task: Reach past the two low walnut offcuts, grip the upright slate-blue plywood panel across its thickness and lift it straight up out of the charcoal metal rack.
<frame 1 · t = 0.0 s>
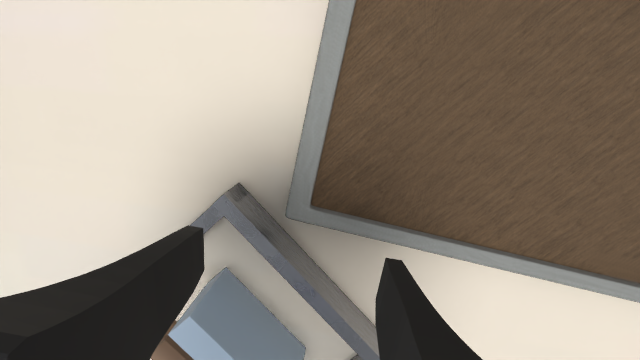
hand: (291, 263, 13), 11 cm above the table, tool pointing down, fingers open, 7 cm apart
picture frame: (538, 127, 22), on the table
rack: (257, 315, 26), on the table
panel: (246, 341, 23), in the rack
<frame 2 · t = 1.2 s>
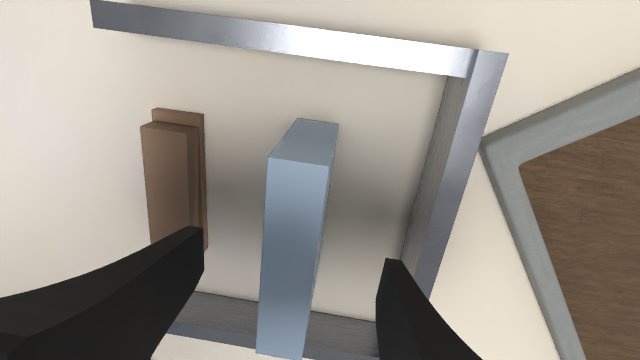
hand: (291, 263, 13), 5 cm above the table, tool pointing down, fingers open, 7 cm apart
offcut top: (179, 187, 18), resting on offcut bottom
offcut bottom: (190, 178, 19), on the table, touching offcut top
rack: (308, 203, 18), on the table
panel: (299, 231, 15), in the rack
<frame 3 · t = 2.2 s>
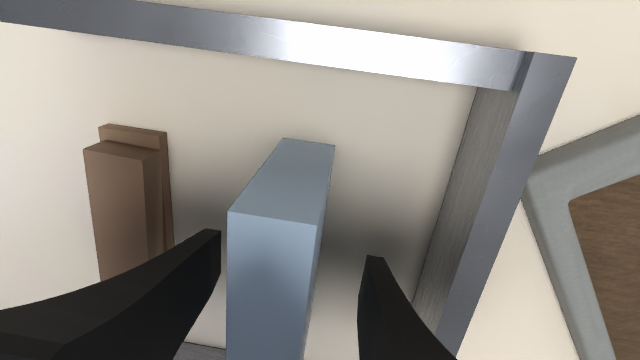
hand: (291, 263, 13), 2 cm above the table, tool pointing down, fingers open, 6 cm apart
offcut top: (138, 221, 14), point 1 cm above the table, touching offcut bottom
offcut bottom: (154, 208, 15), on the table, touching offcut top
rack: (297, 240, 14), on the table
panel: (284, 286, 12), in the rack
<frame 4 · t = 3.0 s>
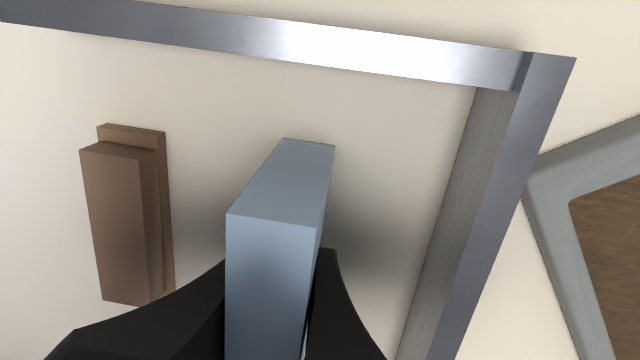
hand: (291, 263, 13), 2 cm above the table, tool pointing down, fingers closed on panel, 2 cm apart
offcut top: (136, 222, 14), point 1 cm above the table, touching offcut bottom
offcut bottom: (152, 208, 15), on the table, touching offcut top
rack: (297, 241, 14), on the table
panel: (283, 288, 12), in the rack, touching gripper
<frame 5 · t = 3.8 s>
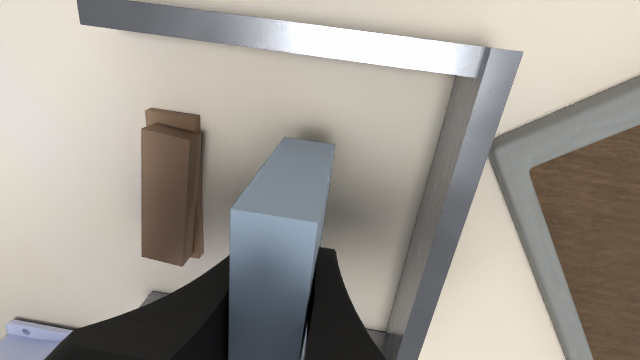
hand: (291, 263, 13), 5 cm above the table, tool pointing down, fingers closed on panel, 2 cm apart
offcut top: (176, 193, 17), resting on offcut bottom
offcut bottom: (185, 181, 18), on the table, touching offcut top
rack: (308, 208, 17), on the table
panel: (285, 283, 12), point 6 cm above the table, touching gripper
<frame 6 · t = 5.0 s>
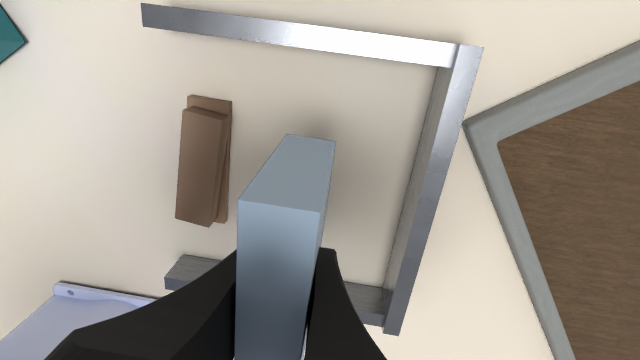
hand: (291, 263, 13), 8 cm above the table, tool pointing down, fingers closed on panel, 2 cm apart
offcut top: (205, 165, 20), point 1 cm above the table
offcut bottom: (215, 158, 22), on the table
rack: (317, 179, 21), on the table
panel: (288, 274, 12), point 9 cm above the table, touching gripper
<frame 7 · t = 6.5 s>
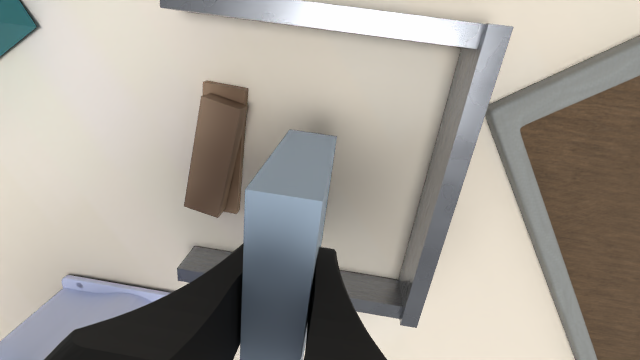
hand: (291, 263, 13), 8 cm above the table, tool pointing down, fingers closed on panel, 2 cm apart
offcut top: (218, 154, 20), point 1 cm above the table
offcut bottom: (228, 147, 21), on the table
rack: (334, 167, 20), on the table
panel: (290, 264, 13), point 8 cm above the table, touching gripper
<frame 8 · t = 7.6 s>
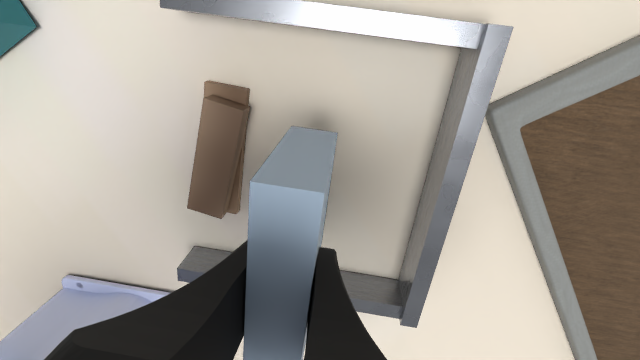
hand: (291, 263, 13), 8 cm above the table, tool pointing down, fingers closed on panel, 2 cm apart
offcut top: (221, 156, 20), point 1 cm above the table, touching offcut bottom
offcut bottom: (229, 147, 21), on the table, touching offcut top
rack: (334, 167, 20), on the table
panel: (292, 257, 13), point 8 cm above the table, touching gripper
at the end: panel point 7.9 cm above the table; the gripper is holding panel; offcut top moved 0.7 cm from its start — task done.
